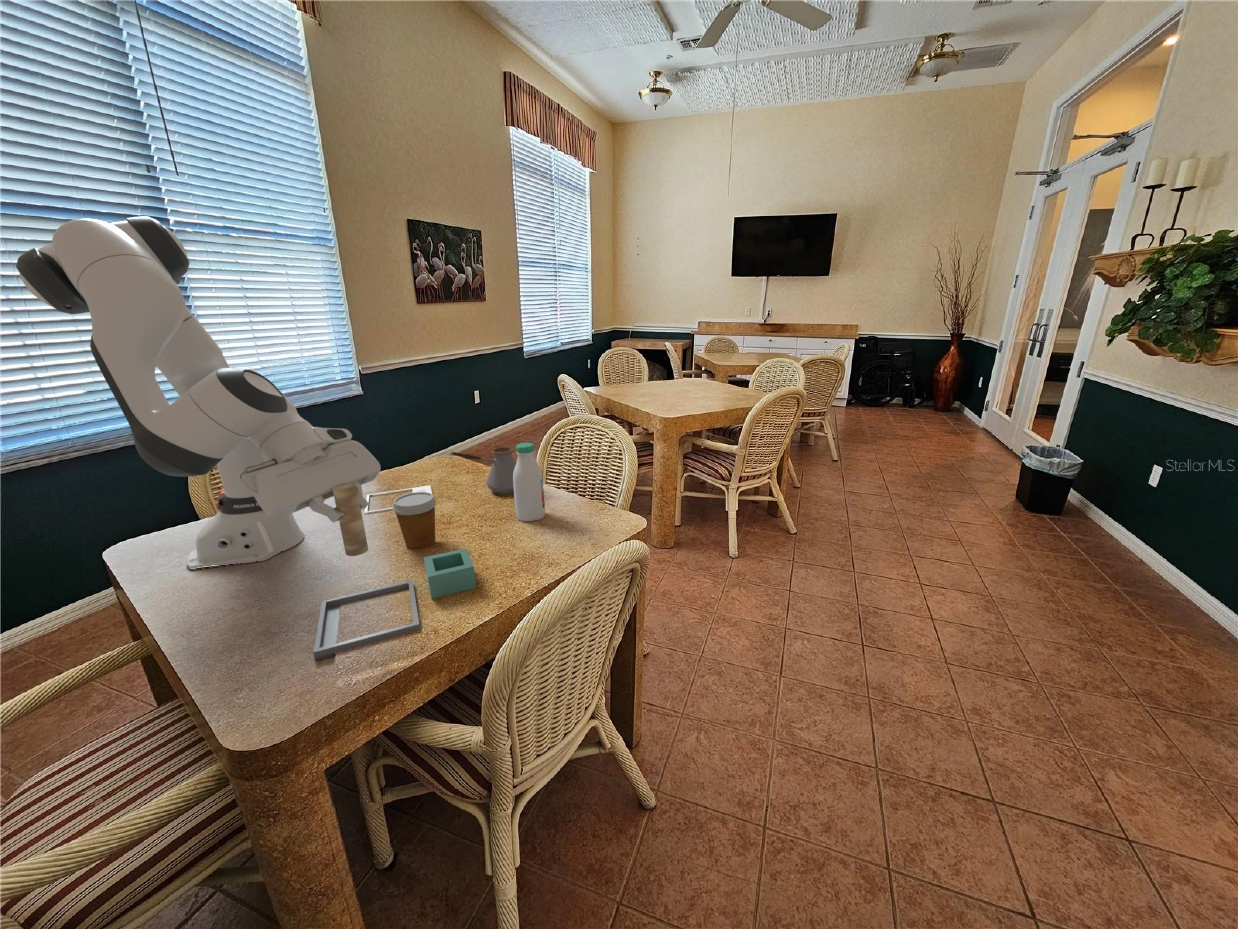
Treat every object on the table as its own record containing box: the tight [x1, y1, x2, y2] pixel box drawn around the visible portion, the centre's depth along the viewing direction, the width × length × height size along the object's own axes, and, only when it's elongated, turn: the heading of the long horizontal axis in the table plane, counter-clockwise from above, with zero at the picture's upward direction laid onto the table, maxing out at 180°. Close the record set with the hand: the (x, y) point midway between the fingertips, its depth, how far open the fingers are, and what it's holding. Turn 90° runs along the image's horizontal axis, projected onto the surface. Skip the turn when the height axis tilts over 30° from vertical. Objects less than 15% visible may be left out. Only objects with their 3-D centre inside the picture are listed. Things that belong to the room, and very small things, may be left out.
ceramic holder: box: [423, 548, 477, 600], centre depth 99 cm, size 8×8×6 cm
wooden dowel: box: [332, 483, 369, 557], centre depth 83 cm, size 4×4×12 cm
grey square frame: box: [312, 579, 421, 662], centre depth 89 cm, size 16×16×2 cm
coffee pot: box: [449, 446, 517, 495], centre depth 146 cm, size 21×12×15 cm, turn 125°
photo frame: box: [364, 484, 433, 515], centre depth 145 cm, size 15×1×18 cm
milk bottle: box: [513, 442, 546, 522], centre depth 129 cm, size 8×8×20 cm
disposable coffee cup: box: [391, 492, 437, 550], centre depth 115 cm, size 10×10×12 cm
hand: (351, 513), depth 83 cm, fingers closed on wooden dowel, 3 cm apart
